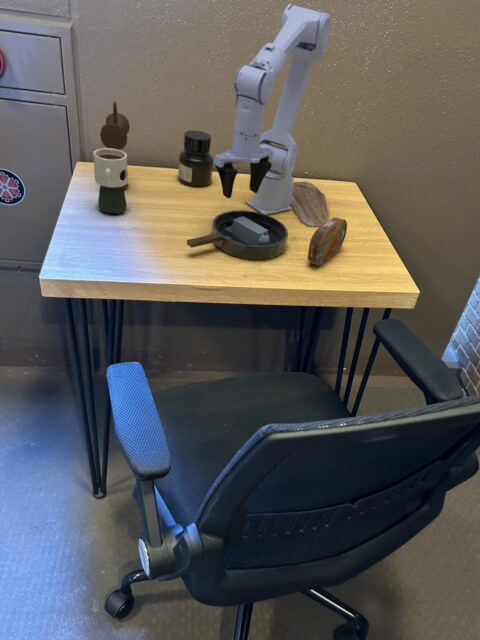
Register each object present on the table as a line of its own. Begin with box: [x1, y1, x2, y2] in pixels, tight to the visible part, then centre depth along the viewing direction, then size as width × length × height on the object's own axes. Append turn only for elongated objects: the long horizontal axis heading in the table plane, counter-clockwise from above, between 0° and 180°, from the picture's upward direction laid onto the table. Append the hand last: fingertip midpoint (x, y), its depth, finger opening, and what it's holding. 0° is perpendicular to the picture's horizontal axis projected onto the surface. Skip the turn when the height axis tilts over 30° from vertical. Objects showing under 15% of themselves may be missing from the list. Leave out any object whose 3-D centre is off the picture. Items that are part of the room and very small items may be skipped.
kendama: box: [99, 101, 130, 190], centre depth 126 cm, size 6×10×20 cm, turn 6°
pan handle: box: [186, 233, 222, 249], centre depth 113 cm, size 8×2×1 cm, turn 129°
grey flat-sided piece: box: [224, 216, 270, 246], centre depth 120 cm, size 12×4×4 cm, turn 49°
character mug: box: [92, 147, 129, 214], centre depth 118 cm, size 11×7×13 cm, turn 5°
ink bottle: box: [178, 130, 214, 187], centre depth 139 cm, size 10×9×12 cm
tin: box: [307, 216, 348, 267], centre depth 119 cm, size 15×3×8 cm, turn 148°
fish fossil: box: [290, 180, 328, 227], centre depth 142 cm, size 26×10×1 cm, turn 12°
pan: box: [211, 209, 289, 260], centre depth 120 cm, size 17×17×4 cm
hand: (240, 193), depth 119 cm, fingers open, 7 cm apart
